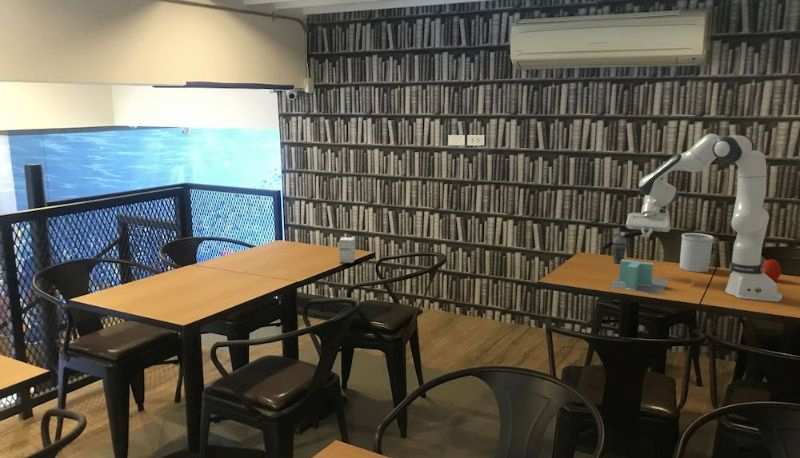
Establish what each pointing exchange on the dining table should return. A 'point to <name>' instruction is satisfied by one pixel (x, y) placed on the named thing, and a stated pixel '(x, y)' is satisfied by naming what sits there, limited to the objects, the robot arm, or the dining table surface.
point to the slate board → (643, 286)
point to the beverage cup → (619, 248)
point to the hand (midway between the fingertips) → (645, 236)
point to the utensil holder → (695, 252)
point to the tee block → (635, 273)
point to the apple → (772, 269)
